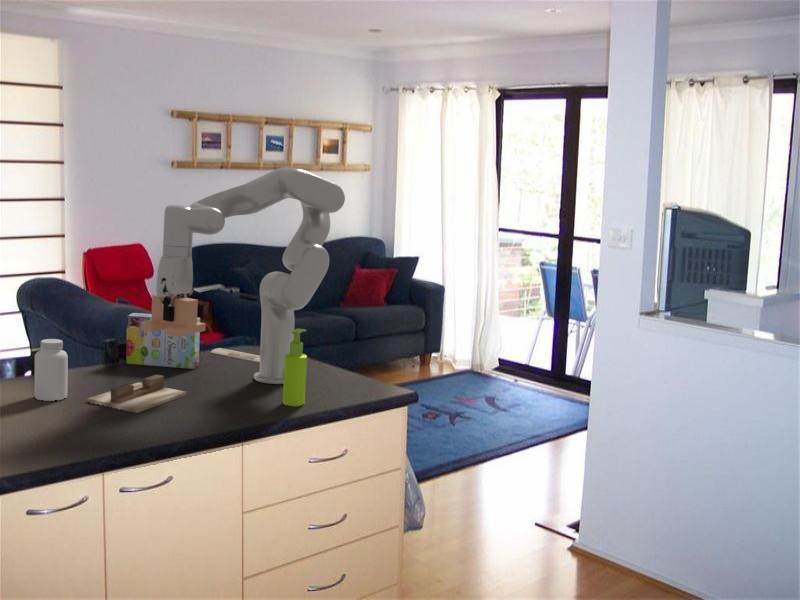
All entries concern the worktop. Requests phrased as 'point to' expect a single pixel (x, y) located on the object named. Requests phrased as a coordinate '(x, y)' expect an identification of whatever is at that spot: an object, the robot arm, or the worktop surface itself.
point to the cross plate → (175, 317)
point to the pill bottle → (51, 371)
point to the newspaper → (236, 354)
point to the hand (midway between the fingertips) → (174, 319)
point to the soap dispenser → (295, 372)
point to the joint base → (138, 395)
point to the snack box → (160, 346)
